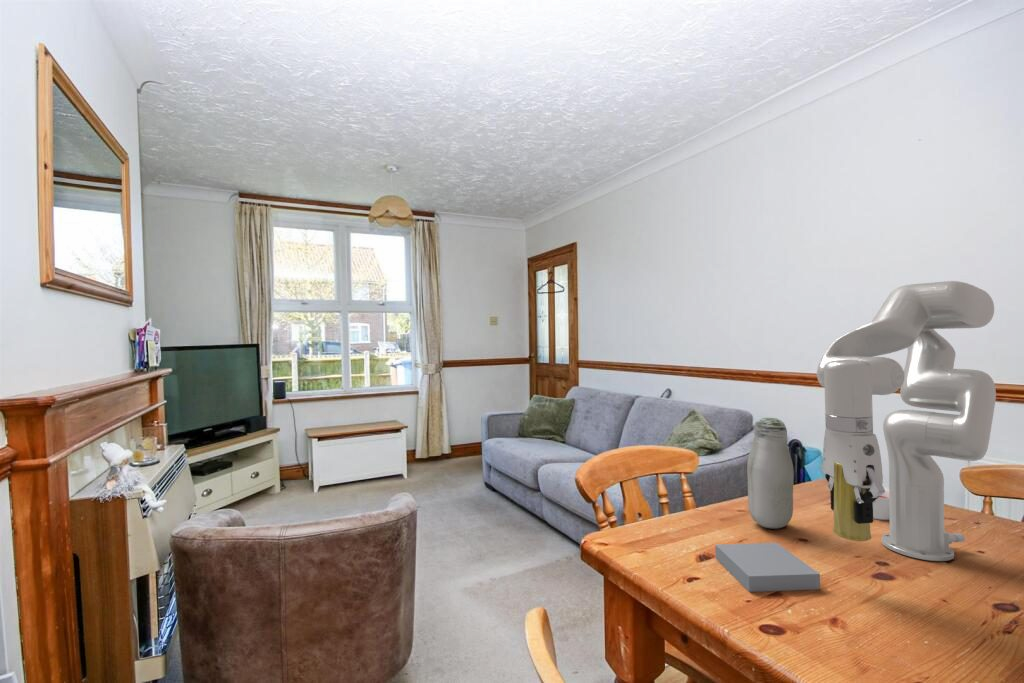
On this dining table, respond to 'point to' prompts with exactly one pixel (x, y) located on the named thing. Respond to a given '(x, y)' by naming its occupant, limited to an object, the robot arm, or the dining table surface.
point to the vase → (847, 509)
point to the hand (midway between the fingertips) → (851, 515)
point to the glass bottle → (770, 475)
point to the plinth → (766, 567)
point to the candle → (881, 507)
